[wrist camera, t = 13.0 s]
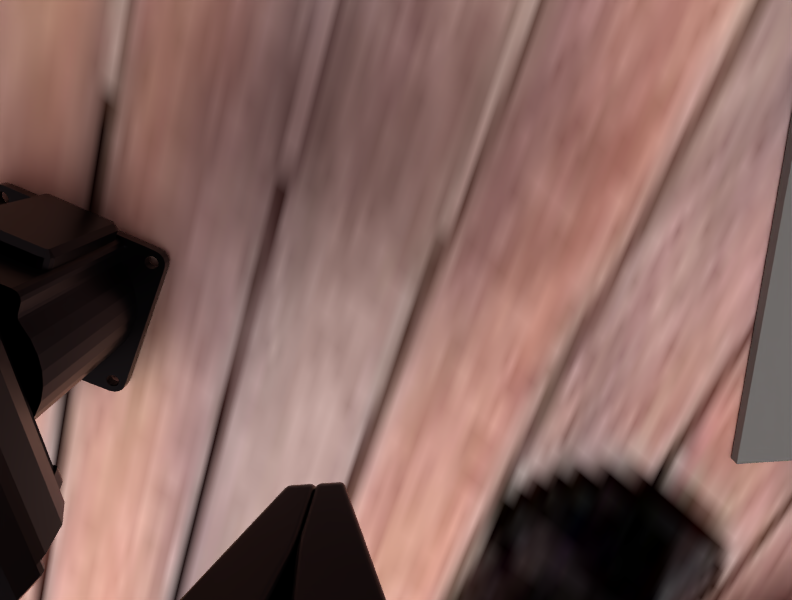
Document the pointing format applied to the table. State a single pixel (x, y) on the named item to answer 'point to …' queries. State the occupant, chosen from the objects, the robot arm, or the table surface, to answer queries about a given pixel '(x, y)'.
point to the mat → (771, 345)
